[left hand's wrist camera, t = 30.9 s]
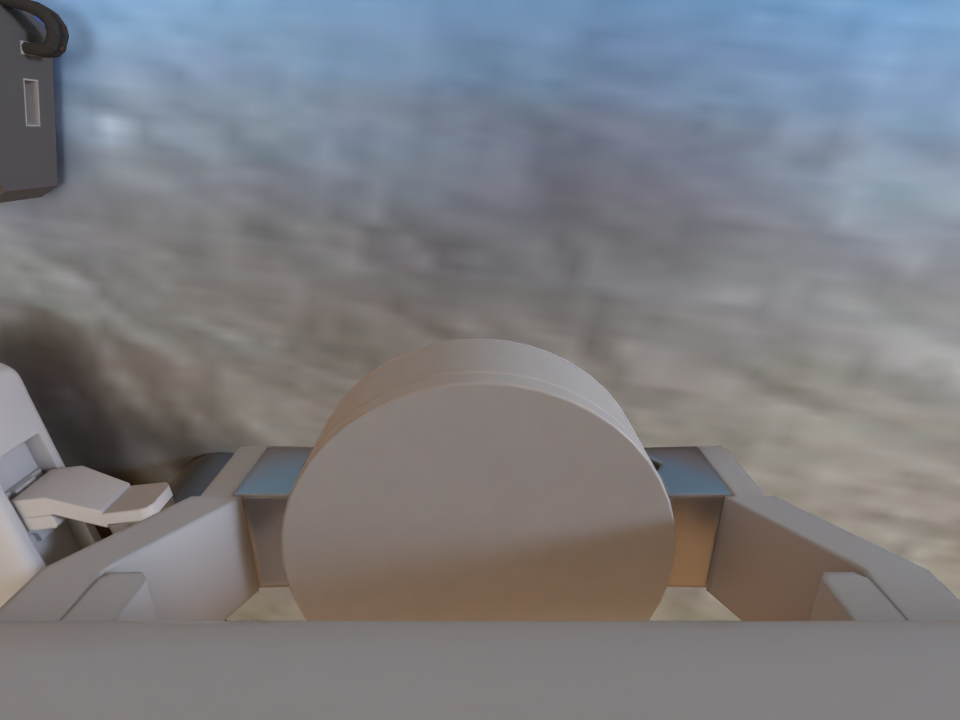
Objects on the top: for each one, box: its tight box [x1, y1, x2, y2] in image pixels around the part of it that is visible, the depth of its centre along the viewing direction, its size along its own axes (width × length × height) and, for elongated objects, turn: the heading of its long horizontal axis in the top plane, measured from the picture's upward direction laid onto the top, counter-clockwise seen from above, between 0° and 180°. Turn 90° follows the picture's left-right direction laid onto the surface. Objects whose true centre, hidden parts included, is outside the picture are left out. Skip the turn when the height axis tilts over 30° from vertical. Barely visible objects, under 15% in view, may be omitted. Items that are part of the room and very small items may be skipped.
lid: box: [281, 338, 676, 621], centre depth 9 cm, size 6×6×2 cm
